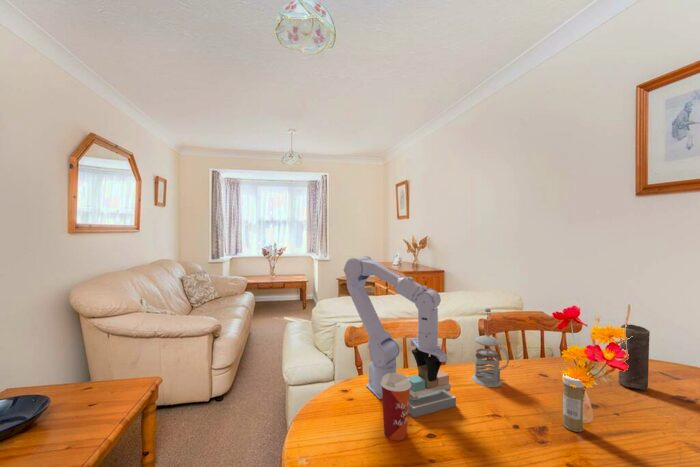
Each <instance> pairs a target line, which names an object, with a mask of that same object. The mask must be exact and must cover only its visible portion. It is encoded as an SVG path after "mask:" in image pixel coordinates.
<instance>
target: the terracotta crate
mask: <svg viewBox="0 0 700 467" xmlns="http://www.w3.org/2000/svg"><path fill="white" fill-rule="evenodd" d="M449 383H450V375H449V374H448V373H446V372H444V371H443V370H441V369H439V371H438V374H437V386H441V385H445V384H449Z"/></svg>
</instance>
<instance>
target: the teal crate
mask: <svg viewBox="0 0 700 467" xmlns="http://www.w3.org/2000/svg"><path fill="white" fill-rule="evenodd" d="M407 377H408V378H409V380H410V383H411V388H410V390H412V391H413V392H416V391H420V390H424V389H425V380H424V379H422V378H421V377H419V376H418V374H415V375H411V376H407Z"/></svg>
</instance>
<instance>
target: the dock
mask: <svg viewBox="0 0 700 467" xmlns="http://www.w3.org/2000/svg"><path fill="white" fill-rule="evenodd" d="M456 406H457V397H456V396H455V395H453V394H452V393H450V392H449V391H448V392H447V391H445V390H441V391H437V392H433V393H429V394H425V395H421V396H418V399H417V400H414V399H412V398H411V397H410V396H409V409H408V415H410V416H411V417H412V418H417V417H420V416H424V415H428V414H432V413H435V412H440V411H443V410H447V409H451V408H454V407H456Z"/></svg>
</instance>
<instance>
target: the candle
mask: <svg viewBox="0 0 700 467" xmlns="http://www.w3.org/2000/svg"><path fill="white" fill-rule="evenodd" d="M626 325H627V327H626V337H627V338H630V337H631V336H633V337H631V338H630V339H628V340H627V349H628V354H629V359H628V360H626V361H625V362H626V363H627V364H628V365H629V368H628V370H626V371H625V372H623V371H619V370H618V383H619V384H621V385H622V386H623V387H627V388H630V387H631V389H634V388H635V389H634V390H638V389H640V390H639V391H644V390H647V389H648V386H649V358H650V330H648V329H647V328H645V327H643V326H641V325H635V324H627V323H626ZM621 328H625V324H622V325H621V326H620V329H621ZM621 340H622V339H621V338H620V341H621ZM620 347H621V348H622V349H624V350H626V344H625V342H623V343H621V344H620V345H619V348H620Z"/></svg>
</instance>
